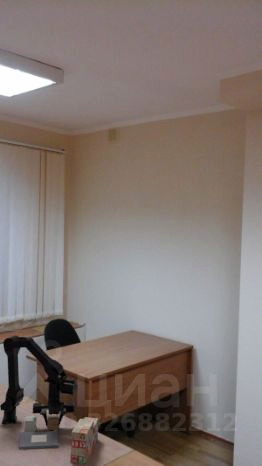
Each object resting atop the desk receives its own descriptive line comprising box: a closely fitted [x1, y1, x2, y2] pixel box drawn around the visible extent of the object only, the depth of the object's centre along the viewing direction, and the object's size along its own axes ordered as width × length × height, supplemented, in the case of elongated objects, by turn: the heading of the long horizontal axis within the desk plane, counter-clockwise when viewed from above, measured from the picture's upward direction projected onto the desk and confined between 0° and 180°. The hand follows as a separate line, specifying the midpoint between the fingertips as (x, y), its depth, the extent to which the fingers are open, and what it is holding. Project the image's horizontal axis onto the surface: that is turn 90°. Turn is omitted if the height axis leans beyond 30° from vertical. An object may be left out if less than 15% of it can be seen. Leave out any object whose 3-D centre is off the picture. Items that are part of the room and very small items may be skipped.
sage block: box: [24, 415, 37, 432], centre depth 196 cm, size 5×5×5 cm
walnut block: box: [46, 414, 60, 431], centre depth 198 cm, size 5×5×5 cm
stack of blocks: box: [69, 417, 99, 465], centre depth 179 cm, size 21×6×12 cm, turn 171°
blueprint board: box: [18, 430, 59, 450], centre depth 185 cm, size 13×16×1 cm
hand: (52, 426), depth 198 cm, fingers closed on walnut block, 5 cm apart
